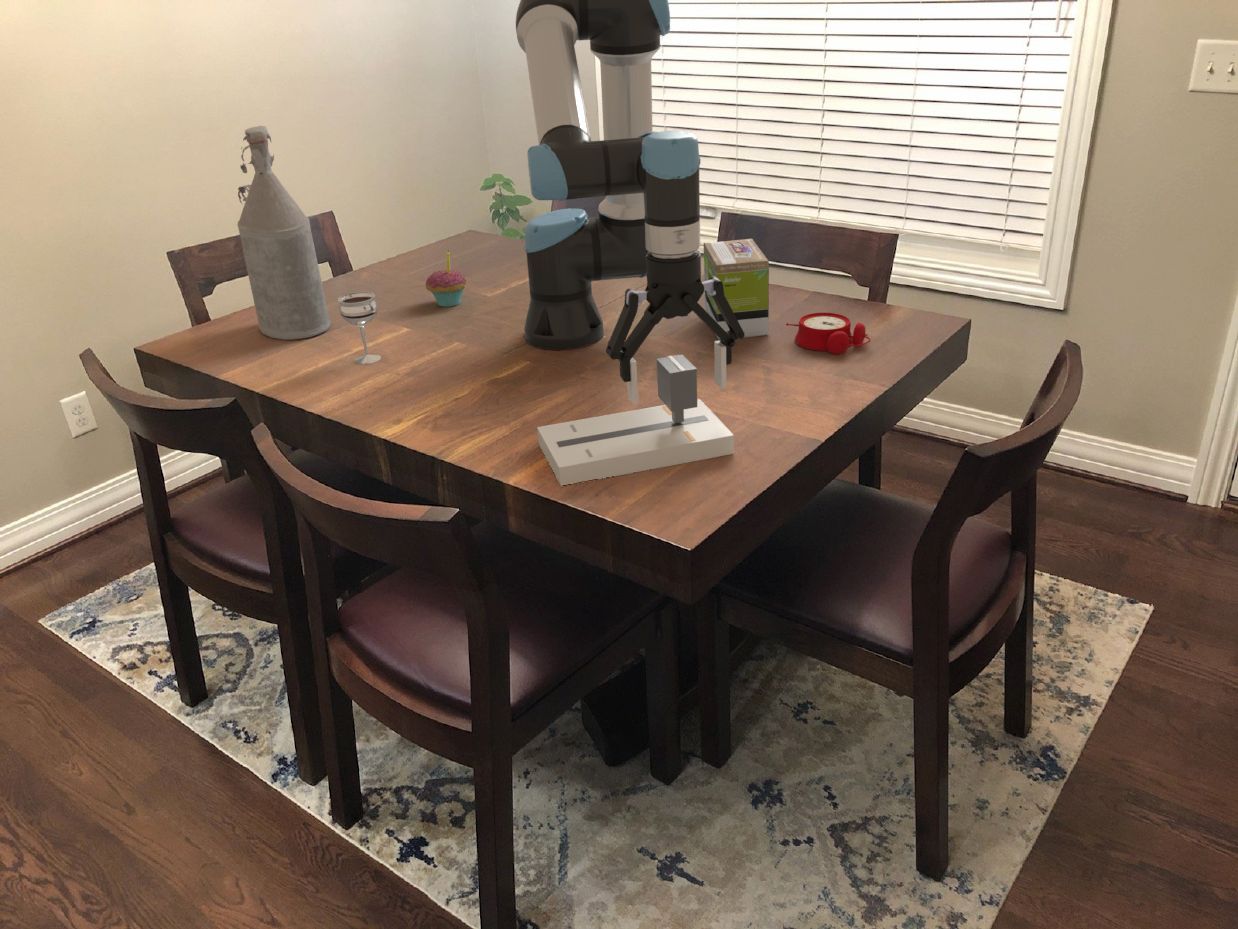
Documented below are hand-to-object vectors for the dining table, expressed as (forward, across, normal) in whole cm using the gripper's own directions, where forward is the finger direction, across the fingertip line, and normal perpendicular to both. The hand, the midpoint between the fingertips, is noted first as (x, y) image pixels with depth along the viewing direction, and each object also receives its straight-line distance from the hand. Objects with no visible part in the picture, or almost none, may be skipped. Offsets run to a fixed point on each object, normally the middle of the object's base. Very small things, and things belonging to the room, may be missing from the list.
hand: (677, 392), depth 149 cm
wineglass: (+8, -42, +55) cm, 70 cm away
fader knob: (+4, 0, 0) cm, 4 cm away
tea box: (+8, +27, +43) cm, 51 cm away
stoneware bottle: (+9, -55, +79) cm, 96 cm away
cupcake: (+9, -23, +81) cm, 84 cm away
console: (+8, -7, 0) cm, 10 cm away
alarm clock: (+8, +39, +26) cm, 48 cm away
